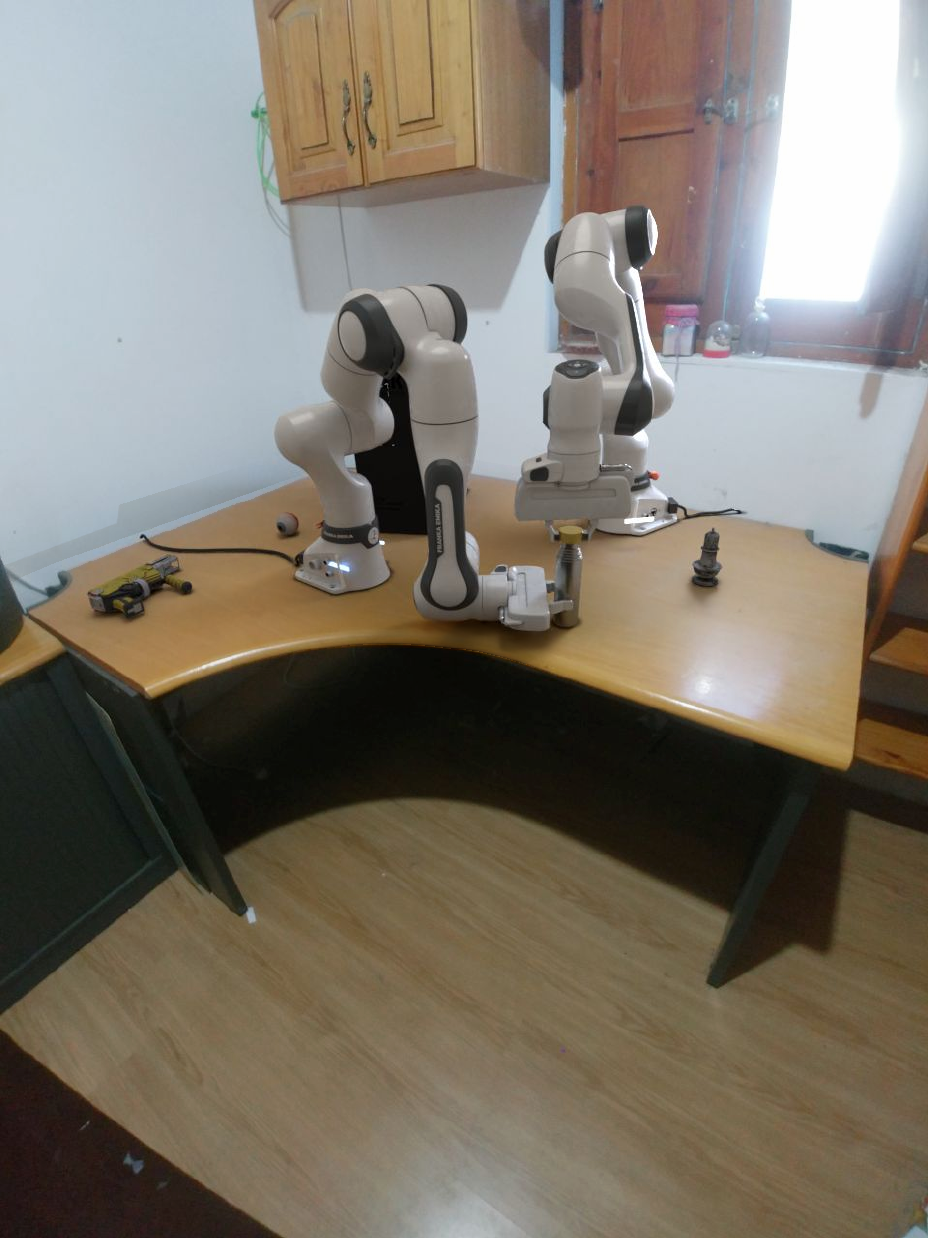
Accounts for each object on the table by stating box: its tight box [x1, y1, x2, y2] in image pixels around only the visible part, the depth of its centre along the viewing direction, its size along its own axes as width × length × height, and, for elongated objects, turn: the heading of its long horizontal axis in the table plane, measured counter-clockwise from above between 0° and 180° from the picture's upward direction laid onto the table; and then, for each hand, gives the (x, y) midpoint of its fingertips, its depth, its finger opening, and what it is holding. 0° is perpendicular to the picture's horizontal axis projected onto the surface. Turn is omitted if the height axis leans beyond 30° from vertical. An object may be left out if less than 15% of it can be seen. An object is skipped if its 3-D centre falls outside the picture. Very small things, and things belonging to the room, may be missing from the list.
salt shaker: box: [691, 527, 723, 587], centre depth 126 cm, size 6×6×12 cm
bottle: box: [552, 542, 583, 628], centre depth 113 cm, size 5×5×18 cm
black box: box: [353, 343, 469, 535], centre depth 166 cm, size 38×20×45 cm, turn 167°
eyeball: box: [275, 511, 300, 536], centre depth 163 cm, size 6×6×6 cm
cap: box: [558, 525, 584, 544], centre depth 109 cm, size 4×4×2 cm
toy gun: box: [86, 553, 193, 620], centre depth 136 cm, size 5×24×15 cm
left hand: (571, 596), depth 115 cm, fingers closed on bottle, 5 cm apart
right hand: (570, 541), depth 109 cm, fingers closed on cap, 4 cm apart
